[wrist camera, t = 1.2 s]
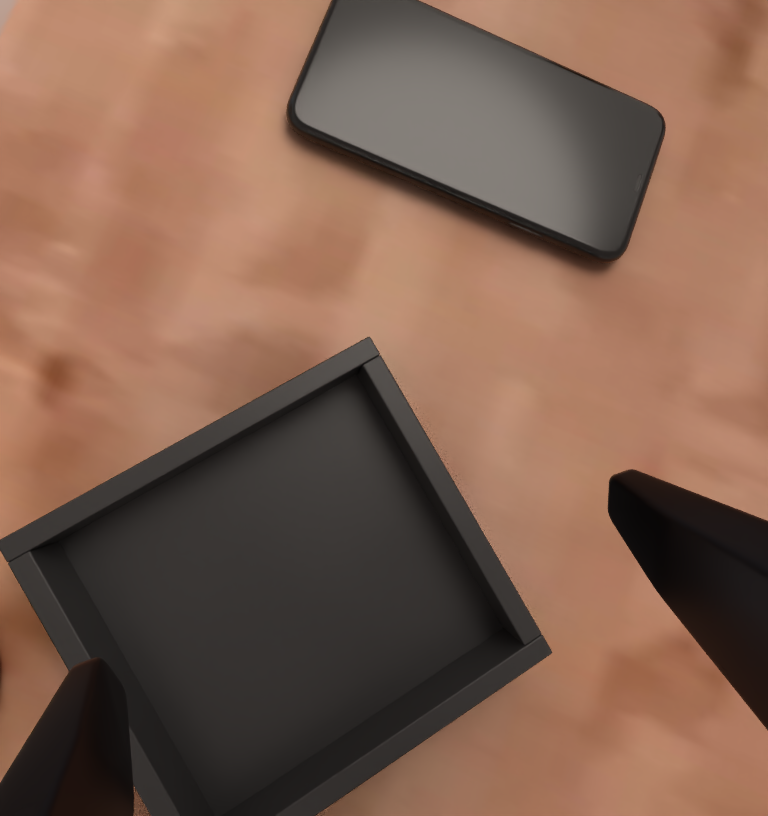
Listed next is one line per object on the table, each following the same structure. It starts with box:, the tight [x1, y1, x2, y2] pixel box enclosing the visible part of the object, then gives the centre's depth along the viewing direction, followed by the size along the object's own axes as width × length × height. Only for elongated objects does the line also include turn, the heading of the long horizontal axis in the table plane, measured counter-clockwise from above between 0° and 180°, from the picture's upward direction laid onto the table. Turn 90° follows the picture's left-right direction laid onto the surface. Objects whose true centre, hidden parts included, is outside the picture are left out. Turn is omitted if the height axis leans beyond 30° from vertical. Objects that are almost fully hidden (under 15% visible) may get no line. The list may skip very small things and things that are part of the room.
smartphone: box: [286, 0, 666, 263], centre depth 27 cm, size 8×1×16 cm
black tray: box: [0, 337, 552, 816], centre depth 23 cm, size 14×15×3 cm
